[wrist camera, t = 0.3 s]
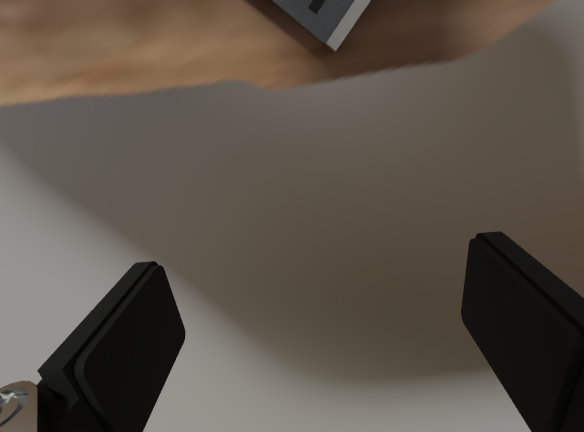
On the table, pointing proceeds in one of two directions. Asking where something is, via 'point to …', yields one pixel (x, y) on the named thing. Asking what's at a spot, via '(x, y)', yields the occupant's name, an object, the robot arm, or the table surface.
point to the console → (324, 17)
